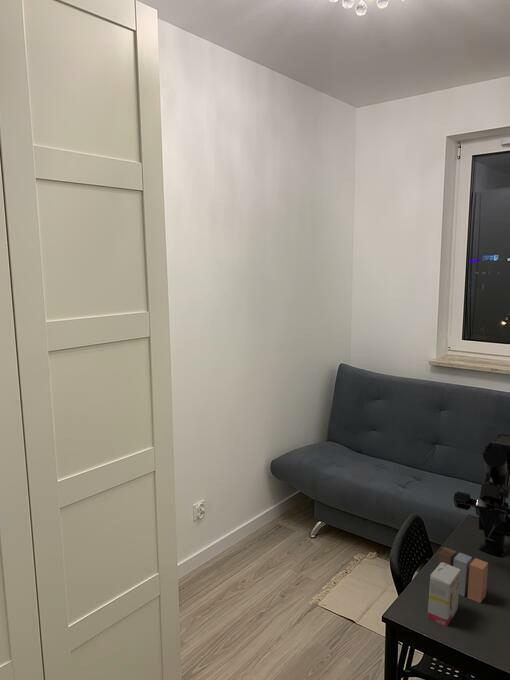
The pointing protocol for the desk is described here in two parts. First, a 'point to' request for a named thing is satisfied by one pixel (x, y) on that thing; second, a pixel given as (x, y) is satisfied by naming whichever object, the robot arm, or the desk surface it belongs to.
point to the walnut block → (446, 556)
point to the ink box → (443, 593)
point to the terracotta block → (477, 580)
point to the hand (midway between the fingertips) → (486, 537)
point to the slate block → (463, 571)
